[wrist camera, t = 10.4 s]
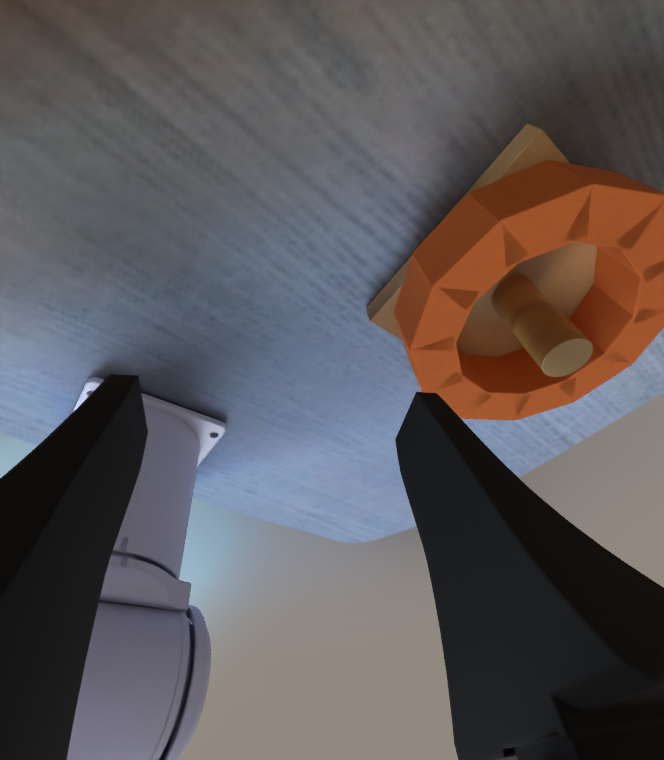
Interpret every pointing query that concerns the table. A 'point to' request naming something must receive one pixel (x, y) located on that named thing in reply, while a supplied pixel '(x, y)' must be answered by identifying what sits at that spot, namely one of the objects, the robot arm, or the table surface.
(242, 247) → the table surface
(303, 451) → the table surface
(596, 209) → the rubber ring
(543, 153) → the peg stand
